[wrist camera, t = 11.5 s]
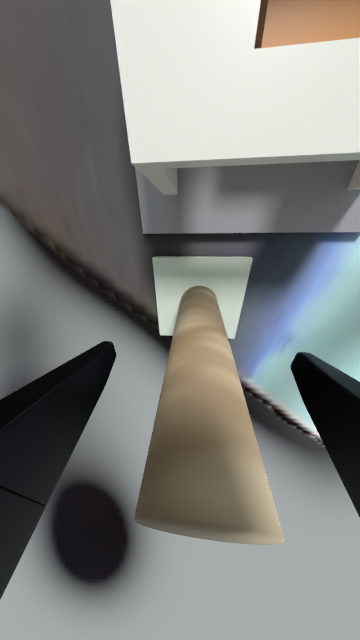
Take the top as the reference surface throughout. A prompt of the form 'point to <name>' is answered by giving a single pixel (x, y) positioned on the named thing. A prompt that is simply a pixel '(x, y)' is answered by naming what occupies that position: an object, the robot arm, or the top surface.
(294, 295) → the top surface
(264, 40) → the button
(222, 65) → the box
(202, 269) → the rest pad
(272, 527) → the tan brown cylinder
